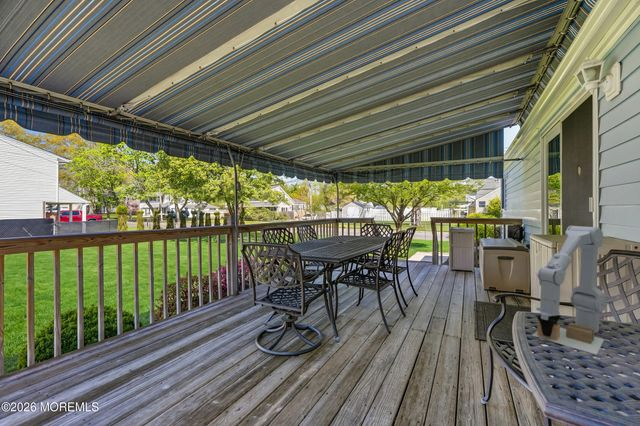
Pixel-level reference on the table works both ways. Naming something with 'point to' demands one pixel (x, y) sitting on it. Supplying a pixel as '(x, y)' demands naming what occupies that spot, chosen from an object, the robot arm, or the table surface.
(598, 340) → the baseplate
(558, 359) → the table surface
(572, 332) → the walnut block
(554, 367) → the table surface
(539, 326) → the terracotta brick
